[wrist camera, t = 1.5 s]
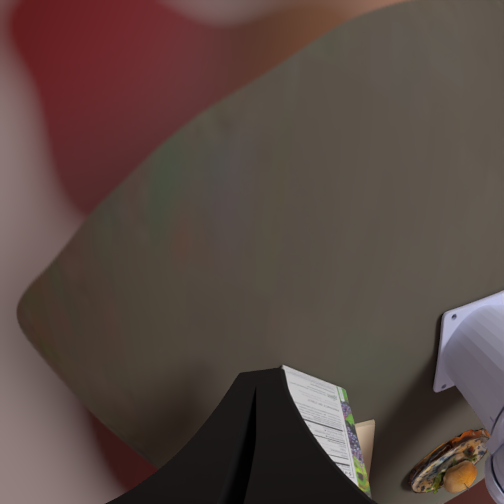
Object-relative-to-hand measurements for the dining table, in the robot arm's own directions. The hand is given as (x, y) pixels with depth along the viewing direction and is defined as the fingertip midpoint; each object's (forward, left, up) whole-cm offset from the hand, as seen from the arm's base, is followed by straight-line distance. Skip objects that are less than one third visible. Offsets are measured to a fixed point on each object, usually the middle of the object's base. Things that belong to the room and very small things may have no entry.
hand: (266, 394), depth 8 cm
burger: (-18, +29, -11) cm, 36 cm away
